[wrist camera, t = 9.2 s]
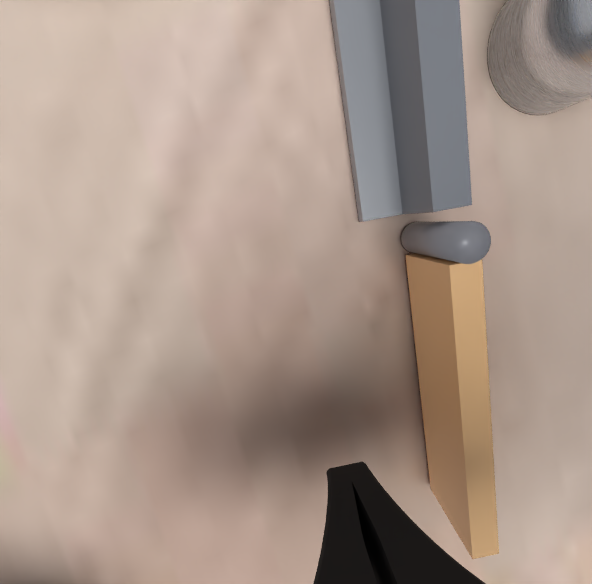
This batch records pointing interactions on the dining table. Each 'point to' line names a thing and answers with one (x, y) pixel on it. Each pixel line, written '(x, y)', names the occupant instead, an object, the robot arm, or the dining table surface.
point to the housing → (403, 104)
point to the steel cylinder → (542, 54)
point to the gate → (454, 373)
